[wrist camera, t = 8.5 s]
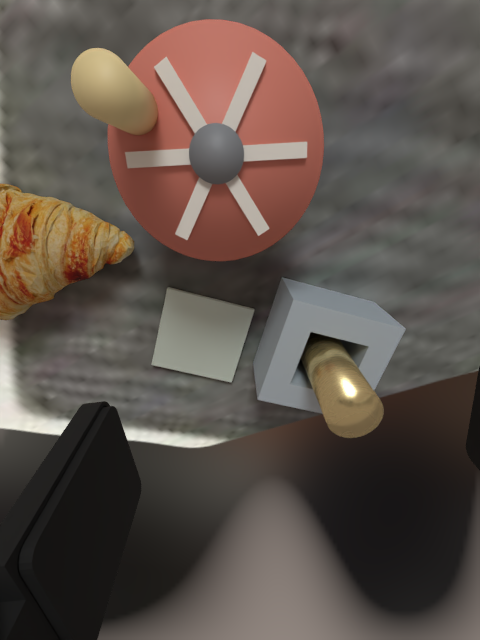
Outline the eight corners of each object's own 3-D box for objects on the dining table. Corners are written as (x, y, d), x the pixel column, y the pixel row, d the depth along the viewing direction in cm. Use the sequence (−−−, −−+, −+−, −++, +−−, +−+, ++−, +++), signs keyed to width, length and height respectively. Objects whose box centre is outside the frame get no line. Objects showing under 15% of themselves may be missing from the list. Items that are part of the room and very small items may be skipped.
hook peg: (336, 320, 31) (393, 398, 20) (322, 353, 33) (369, 442, 22) (300, 311, 31) (338, 385, 20) (287, 345, 32) (317, 431, 21)
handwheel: (72, 122, 19) (1, 97, 13) (248, -26, 17) (258, -137, 11) (195, 289, 23) (183, 327, 17) (350, 188, 21) (399, 192, 15)
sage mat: (254, 308, 31) (254, 310, 30) (231, 380, 34) (231, 382, 33) (168, 286, 30) (167, 288, 29) (152, 362, 33) (151, 364, 32)
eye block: (374, 301, 31) (405, 328, 25) (337, 382, 34) (358, 421, 29) (281, 277, 30) (293, 299, 24) (252, 362, 33) (257, 399, 27)
